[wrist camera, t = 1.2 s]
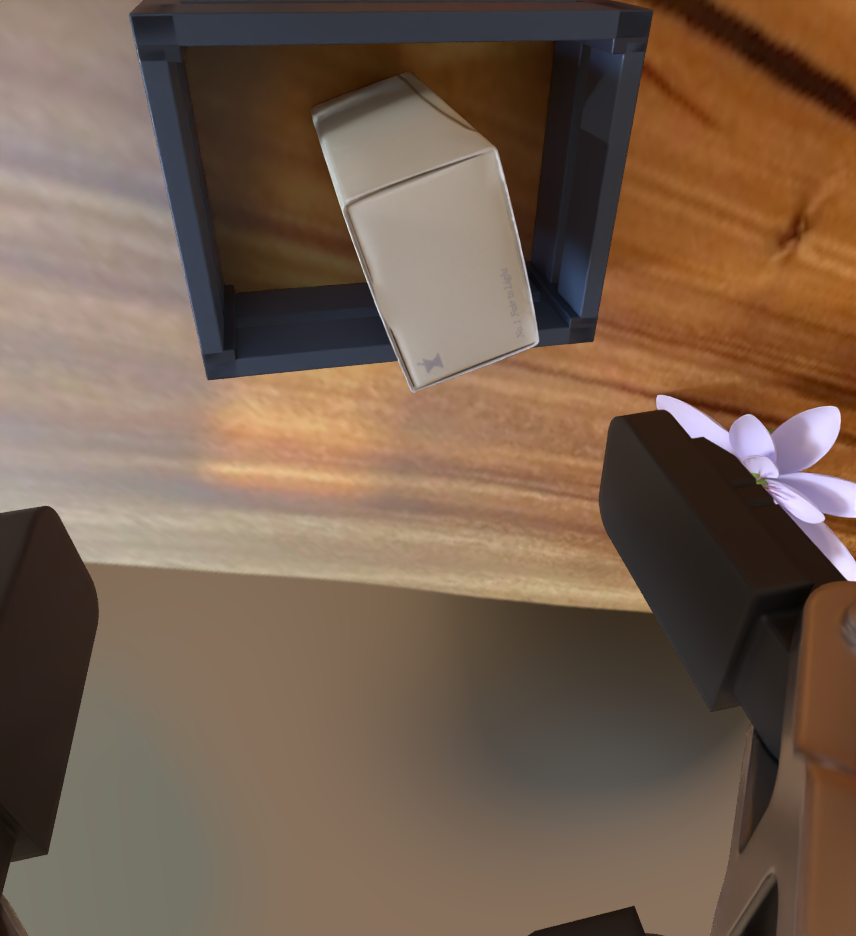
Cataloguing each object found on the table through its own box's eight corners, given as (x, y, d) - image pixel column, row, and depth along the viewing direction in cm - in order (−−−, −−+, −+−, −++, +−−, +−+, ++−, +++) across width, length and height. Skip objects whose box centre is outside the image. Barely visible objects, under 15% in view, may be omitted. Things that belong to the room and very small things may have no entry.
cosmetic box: (451, 217, 30) (548, 350, 21) (356, 253, 30) (412, 402, 21) (408, 61, 26) (506, 140, 17) (299, 103, 26) (337, 205, 17)
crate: (210, 311, 31) (207, 381, 26) (147, -6, 23) (128, 13, 19) (543, 283, 33) (593, 342, 29) (579, -8, 26) (654, 9, 22)
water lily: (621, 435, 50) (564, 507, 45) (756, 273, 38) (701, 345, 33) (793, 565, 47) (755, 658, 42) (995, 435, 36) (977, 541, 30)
